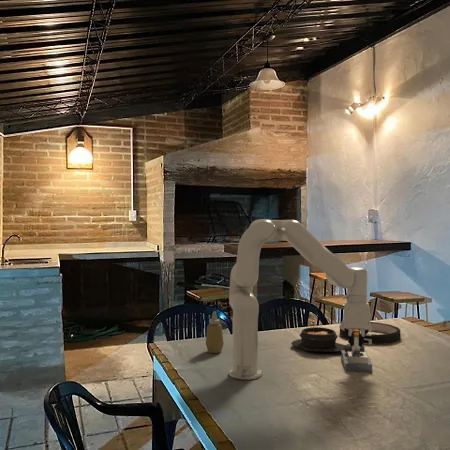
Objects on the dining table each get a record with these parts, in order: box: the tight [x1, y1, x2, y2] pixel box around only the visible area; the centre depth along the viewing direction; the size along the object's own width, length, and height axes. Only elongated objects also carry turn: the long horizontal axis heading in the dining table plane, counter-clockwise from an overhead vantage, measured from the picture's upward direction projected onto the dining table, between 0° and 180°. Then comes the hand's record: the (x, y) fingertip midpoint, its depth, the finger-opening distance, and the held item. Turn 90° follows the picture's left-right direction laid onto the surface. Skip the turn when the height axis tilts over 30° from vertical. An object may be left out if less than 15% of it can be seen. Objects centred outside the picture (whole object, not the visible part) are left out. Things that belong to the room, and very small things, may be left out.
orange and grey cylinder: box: [352, 329, 361, 355], centre depth 181 cm, size 3×3×9 cm
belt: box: [339, 321, 401, 345], centre depth 230 cm, size 29×30×5 cm
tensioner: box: [340, 343, 373, 373], centre depth 186 cm, size 18×10×7 cm, turn 171°
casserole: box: [290, 326, 346, 354], centre depth 208 cm, size 25×19×8 cm
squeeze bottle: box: [205, 311, 224, 354], centre depth 205 cm, size 8×8×18 cm
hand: (355, 345), depth 181 cm, fingers closed on orange and grey cylinder, 3 cm apart
